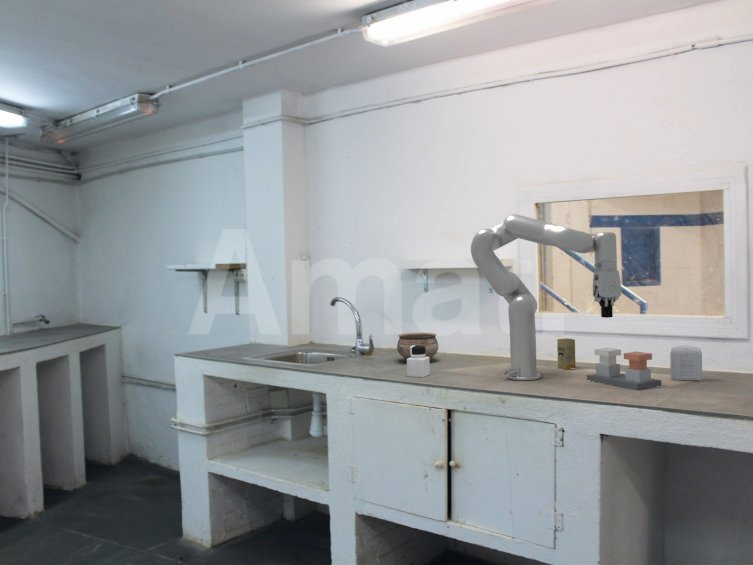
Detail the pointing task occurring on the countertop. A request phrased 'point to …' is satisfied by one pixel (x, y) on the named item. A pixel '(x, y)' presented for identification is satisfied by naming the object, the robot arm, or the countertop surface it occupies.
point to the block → (624, 377)
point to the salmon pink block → (638, 360)
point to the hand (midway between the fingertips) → (606, 317)
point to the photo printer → (686, 363)
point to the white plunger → (607, 355)
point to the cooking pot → (417, 343)
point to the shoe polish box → (566, 353)
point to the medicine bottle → (418, 362)
